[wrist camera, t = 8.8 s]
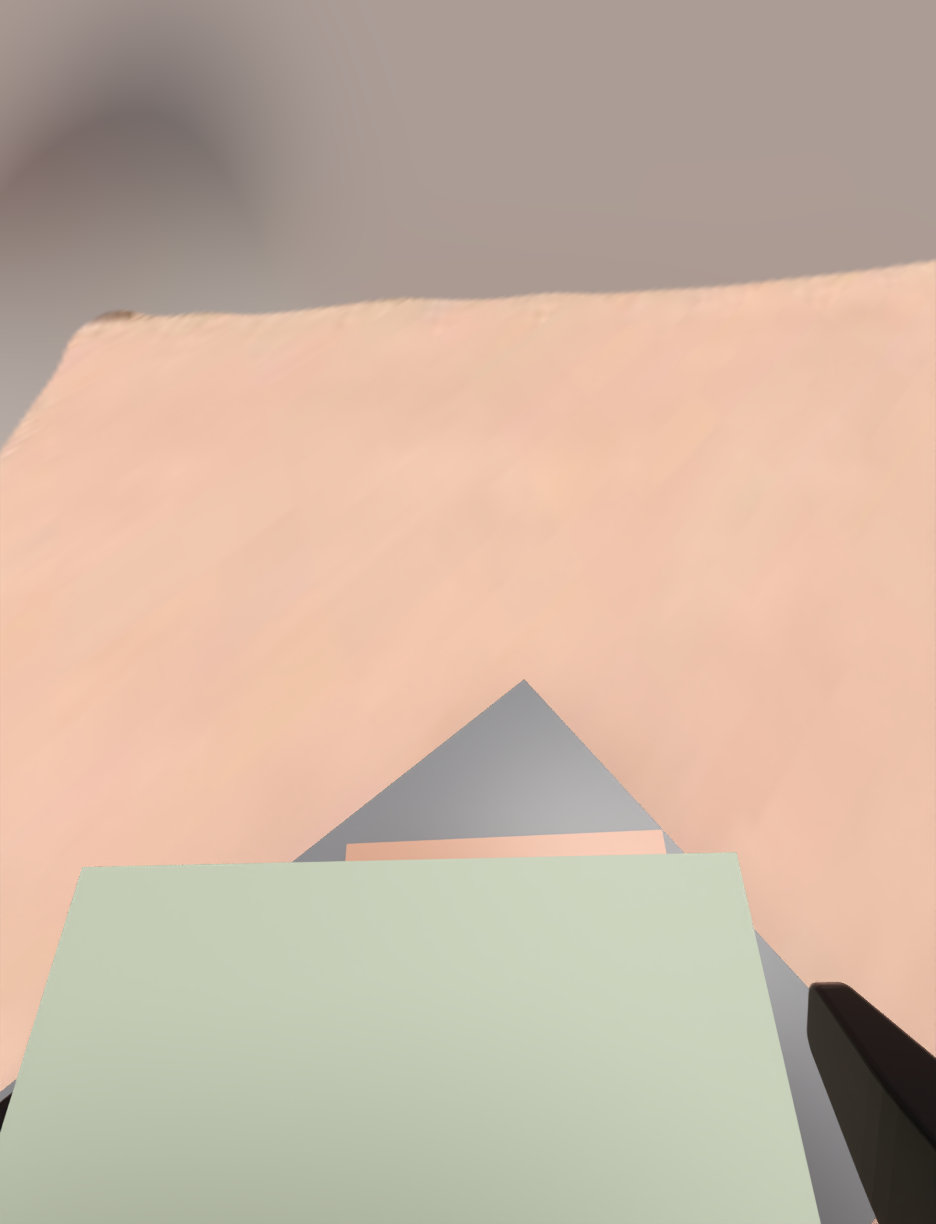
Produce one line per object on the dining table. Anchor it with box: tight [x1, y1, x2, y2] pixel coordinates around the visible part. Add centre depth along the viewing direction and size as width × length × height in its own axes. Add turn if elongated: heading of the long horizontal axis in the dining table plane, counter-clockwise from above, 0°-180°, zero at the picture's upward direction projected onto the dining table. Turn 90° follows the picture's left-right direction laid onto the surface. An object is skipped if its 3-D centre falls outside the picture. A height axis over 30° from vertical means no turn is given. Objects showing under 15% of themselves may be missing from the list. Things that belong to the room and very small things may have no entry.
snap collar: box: [345, 830, 667, 861], centre depth 14 cm, size 9×9×1 cm
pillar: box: [0, 852, 821, 1224], centre depth 9 cm, size 5×5×13 cm
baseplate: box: [0, 680, 876, 1224], centre depth 14 cm, size 20×14×2 cm
